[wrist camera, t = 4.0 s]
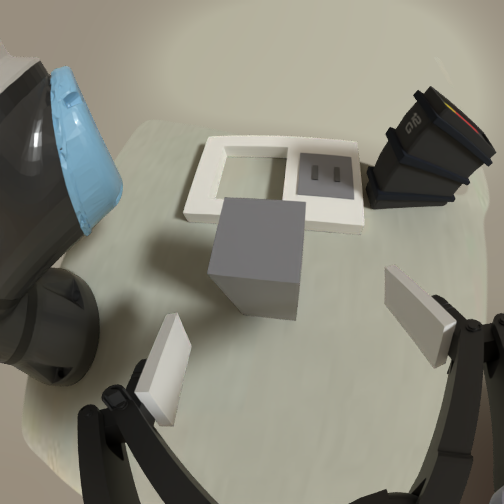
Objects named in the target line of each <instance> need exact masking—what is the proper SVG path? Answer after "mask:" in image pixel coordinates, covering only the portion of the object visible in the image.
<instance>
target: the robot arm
mask: <svg viewBox="0 0 504 504" xmlns="http://www.w3.org/2000/svg"><path fill="white" fill-rule="evenodd" d="M122 191H123V183H122V179H121V176H120V174H119V172H118V170H117V168H116V166H115V164H114V161H113V159H112V157H111V155H110V153H109V152H108V150H107V147H106V145H105V143H104V141H103V139H102V137H101V135H100V133H99V131H98V129H97V127H96V124H95V122H94V120H93V118H92V115H91V113H90V111H89V109H88V107H87V104H86V102H85V100H84V98H83V95H82V93H81V91H80V89H79V87H78V84H77V82H76V80H75V77H74V75H73V72H72V70H71V68H70V67H67V66H64V67H61V68H56V69H54V71H52V73H51V75H50V74H48V73H47V71H46V69H45V68H44V66H43V64H42V63H41V61H40V59H39V58H38V57H14V56H11V55H10V54H9V53H8V51H7V50H6V48H5V46H4V45H3V43H2V41H1V39H0V363H4V364H8V365H12V366H14V367H16V368H17V369H19V370H21V371H23V372H24V373H26V374H28V375H29V376H31V377H33V378H35V379H36V380H38V381H40V382H42V383H44V384H48V385H54V386H69V385H72V384H74V383H76V382H77V381H79V380H80V379H81V378H82V377H83V376H84V375H85V374H86V372H87V371H88V369H89V368H90V366H91V364H92V362H93V359H94V356H95V353H96V350H97V345H98V339H99V314H98V308H97V304H96V300H95V298H94V295H93V293H92V291H91V289H90V287H89V286H88V285H87V283H86V282H85V281H84V280H83V279H81V278H80V277H78V276H76V275H75V274H73V273H71V272H69V271H67V270H64V269H60V268H50V267H51V266H52V265H53V264H54V263H55V262H56V261H57V260H58V259H59V258H60V257H61V256H62V255H63V254H64V253H65V252H66V251H68V250H69V249H70V248H71V247H72V246H73V245H74V244H75V243H76V242H77V241H78V240H79V239H80V238H81V237H82V236H84V235H85V236H88V235H89V234H90V233H91V230H92V228H93V227H94V226H95V225H96V224H97V223H98V222H99V221H100V220H101V219H102V218H103V217H105V216H106V215H107V214H108V213H109V212H110V211H111V210H112V209H113V208H114V207H115V206H116V205H117V204H118V202H119V201H120V199H121V196H122ZM385 305H386V306H387V308H388V309H389V310H390V311H391V313H392V314H393V315H394V316H395V318H396V319H397V320H398V321H399V323H400V324H401V325H402V327H403V328H404V329H405V330H406V332H407V333H408V334H409V336H410V337H411V338H412V340H413V341H414V342H415V344H416V345H417V346H418V348H419V349H420V350H421V352H422V353H423V354H424V356H425V357H426V358H427V360H428V361H429V363H430V364H431V365H432V367H433V368H437V367H439V366H441V365H443V364H445V363H446V360H447V356H448V355H449V357H450V358H451V359H452V360H451V363H450V366H449V369H448V372H447V374H448V379H447V384H446V389H445V393H444V398H443V402H442V406H441V410H440V414H439V417H438V421H437V424H436V428H435V431H434V434H433V437H432V440H431V443H430V446H429V449H428V452H427V454H426V457H425V460H424V462H423V465H422V467H421V470H420V472H419V474H418V477H417V479H416V480H415V482H414V484H413V485H412V487H411V489H410V491H409V493H402V492H393V493H387V490H386V489H385V490H382V491H379V492H377V493H374V494H371V495H368V496H364V497H361V498H359V499H357V500H355V501H353V502H351V503H349V504H459V503H460V500H461V498H462V495H463V492H464V489H465V486H466V484H467V480H468V477H469V474H470V470H471V467H472V462H473V456H472V455H471V449H472V445H473V441H474V435H475V431H476V426H477V420H478V413H479V407H480V399H481V390H482V378H483V370H484V375H485V380H486V385H487V391H488V397H489V404H490V412H491V421H492V433H493V451H494V452H493V455H494V469H493V470H494V471H493V475H494V491H495V494H494V495H493V496H492V498H491V501H490V503H489V504H504V314H502V313H500V314H497V315H496V316H495V317H494V320H493V323H490V324H485V325H482V324H481V323H480V322H479V321H477V320H473V319H468V320H466V319H465V318H464V317H463V316H462V315H461V314H460V313H459V312H458V311H457V310H456V309H455V308H454V307H453V306H452V305H450V304H449V303H448V302H447V301H446V300H445V299H444V298H442V297H440V296H438V295H433V296H430V295H429V294H428V293H427V292H426V291H425V290H424V289H422V288H421V287H420V286H419V285H418V284H417V283H416V282H415V281H414V280H412V279H411V278H410V277H409V276H408V275H407V274H406V273H404V272H403V271H402V270H401V269H400V268H399V267H398V266H396V265H395V264H394V265H391V266H387V267H385ZM191 347H192V345H191V343H190V341H189V339H188V336H187V334H186V332H185V329H184V327H183V325H182V322H181V320H180V318H179V315H178V313H171V314H166V316H165V319H164V321H163V323H162V325H161V328H160V330H159V332H158V335H157V337H156V339H155V342H154V344H153V347H152V349H151V351H150V354H149V356H148V359H142V360H141V361H140V362H139V363H138V364H137V365H136V367H135V369H134V371H133V374H132V376H131V379H130V381H129V383H128V385H127V388H126V390H125V388H124V387H123V386H122V385H118V384H117V385H112V386H110V387H108V388H107V389H106V390H105V391H104V392H103V394H102V401H103V402H104V403H105V405H106V406H107V407H108V408H106V409H102V410H99V409H98V408H97V407H96V406H95V405H92V404H90V405H86V406H84V407H83V408H82V409H81V410H80V411H79V413H78V455H79V468H80V479H81V487H82V494H83V501H84V504H141V503H140V500H139V497H138V494H137V490H136V487H135V483H134V480H133V476H132V472H131V468H130V464H129V460H128V455H127V451H126V446H125V442H126V443H127V444H128V446H129V448H130V450H131V452H132V453H133V455H134V457H135V459H136V460H137V462H138V464H139V465H140V467H141V469H142V470H143V472H144V473H145V475H146V477H147V478H148V480H149V481H150V483H151V484H152V486H153V487H154V489H155V490H156V492H157V493H158V494H159V496H160V497H161V499H162V500H163V501H164V503H165V504H218V503H217V502H216V501H215V500H214V499H213V498H212V497H211V496H210V494H209V493H208V492H207V491H206V490H205V489H204V488H203V487H202V486H201V485H200V484H199V483H198V482H197V480H196V479H195V478H194V477H193V476H192V475H191V474H190V472H189V471H188V470H187V469H186V468H185V466H184V465H183V464H182V463H181V462H180V460H179V459H178V458H177V457H176V455H175V454H174V453H173V451H172V450H171V449H170V448H169V446H168V445H167V444H166V442H165V441H164V440H163V438H162V437H161V435H160V434H159V433H158V431H157V430H156V428H155V427H154V422H155V421H156V422H157V423H158V424H159V426H174V422H175V417H176V412H177V408H178V403H179V399H180V394H181V390H182V385H183V381H184V377H185V372H186V368H187V364H188V360H189V355H190V351H191Z"/></svg>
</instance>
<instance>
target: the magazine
mask: <svg viewBox="0 0 504 504" xmlns="http://www.w3.org/2000/svg"><path fill="white" fill-rule="evenodd" d="M413 96H414V97H415V99H416V100H417V102H416V103H415V104H414V106H413V107H412V108H411V109H410V110H409V111H408V112H407V113H406V115H405V116H404V117H403V119H402V121H401V122H400V124H399V125H398V127H397V128H396V129H394V128H391V127H390V128H389V129H388V131H387V132H386V136H387V138H388V142H387V144H386V145H385V147H384V149H383V150H382V152H381V154H380V156H379V158H378V160H377V162H376V164H375V167H370V166H369V167H368V170H367V175H368V178H369V182H368V184H367V187H366V191H367V194H368V198H369V201H370V204H371V208H372V209H386V208H403V207H424V206H444V205H446V203H447V202H454V200H455V197H454V195H453V194H454V193H455V192H456V190H457V189H458V188H459V187H460V186H461V185H462V184H465V185H468V184H469V183H470V181H469V179H468V177H469V176H470V175H471V174H472V173H473V172H474V171H475V170H477V169H478V168H479V167H480V166H481V165H483V164H484V163H485V164H486V165H487V166H490V165H491V164H492V161H491V159H490V158H491V157H492V156H493V155H494V154H495V153H496V151H495V149H494V148H493V146H492V144H491V143H490V142H489V140H488V138H487V137H486V135H485V134H484V132H483V131H482V130H481V129H480V128H479V127H477V125H476V124H475V123H474V122H473V121H471V120H470V119H469V118H468V117H467V116H466V115H465V114H464V113H463V112H462V111H461V110H459V109H458V108H457V107H456V106H455V105H454V104H452V103H451V102H450V101H449V100H448V99H447V98H445V97H444V96H443V95H442V94H440V93H439V92H438V91H437V90H435V89H434V88H433V87H431V86H430V87H429V88H428V89H427V91H426V92H425V93H424V94H423V93H422V92H420V91H419V90H417V91H416V93H415V94H414V95H413Z"/></svg>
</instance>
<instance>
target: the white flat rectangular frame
mask: <svg viewBox="0 0 504 504" xmlns="http://www.w3.org/2000/svg"><path fill="white" fill-rule="evenodd" d="M227 157H268V158H287V163H286V172H285V182H284V190H283V199H282V200H286V201H301V202H306V213H305V229H304V230H311V231H323V232H334V233H345V234H356V235H361V232H362V230H363V228H364V207H363V193H362V181H361V171H360V162H359V153H358V146H357V142H354V141H344V140H335V139H323V138H309V137H292V136H209V137H208V140H207V142H206V145H205V148H204V151H203V153H202V156H201V159H200V162H199V165H198V168H197V171H196V174H195V177H194V180H193V183H192V186H191V189H190V192H189V195H188V198H187V201H186V204H185V208H184V211H183V214H184V216H185V217H186V219H187V220H188V222H195V223H213V224H218V223H219V218H220V214H221V210H222V206H223V202H224V199H215V198H216V195H217V191H218V187H219V183H220V180H221V176H222V172H223V169H224V165H225V162H226V158H227Z"/></svg>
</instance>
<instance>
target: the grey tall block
mask: <svg viewBox="0 0 504 504" xmlns="http://www.w3.org/2000/svg"><path fill="white" fill-rule="evenodd" d="M305 213H306V202H301V201H286V200H270V199H251V198H227V197H225V198H224V202H223V206H222V210H221V214H220V218H219V223H218V227H217V231H216V236H215V240H214V244H213V249H212V253H211V258H210V263H209V267H208V272H207V274H208V275H209V277H210V278H211V279H212V280H213V281H214V282H215V283H216V285H217V286H218V287H219V288H220V289H221V290H222V291H223V292H224V294H225V295H226V296H227V297H228V298H229V299H230V300H231V301H232V303H233V304H234V305H235V306H236V307H237V308H238V309H239V310H240V311H241V313H242V314H243V315H250V316H258V317H266V318H275V319H284V320H294V321H296V316H297V307H298V298H299V289H300V279H301V268H302V256H303V243H304V229H305Z"/></svg>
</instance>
